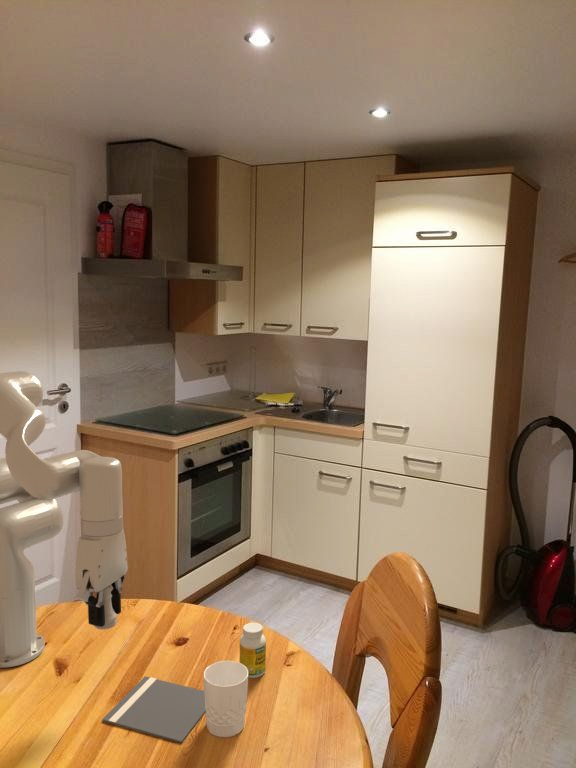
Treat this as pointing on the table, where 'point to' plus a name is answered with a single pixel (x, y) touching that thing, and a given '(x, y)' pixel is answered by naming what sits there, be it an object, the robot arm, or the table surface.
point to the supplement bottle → (253, 649)
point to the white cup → (225, 697)
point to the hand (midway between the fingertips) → (105, 617)
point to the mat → (159, 709)
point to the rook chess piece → (108, 609)
